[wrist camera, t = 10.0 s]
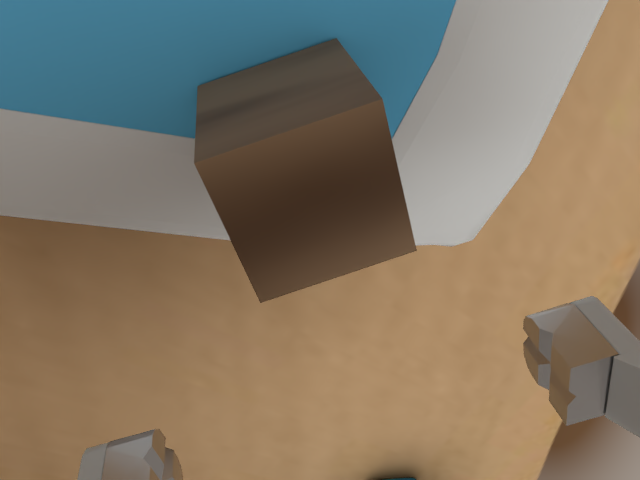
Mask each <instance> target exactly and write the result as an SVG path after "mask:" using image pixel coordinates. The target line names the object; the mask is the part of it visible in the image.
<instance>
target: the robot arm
mask: <svg viewBox="0 0 640 480" xmlns="http://www.w3.org/2000/svg"><path fill="white" fill-rule="evenodd" d="M523 329H524V331H525V332H526V334H527V335H528V338H527V339H526V341H525V342H524V343H523V347H524V357H525V360H526V363H527V367H528V369H529V371H530V373H531V375H532V376H533V378H534V379H535V381H536V382H537V384H538V385H540V386H542V387H544V388H546V389H548V390H549V401H550V403H551V404H552V406H553V407H554V409H555V410H556V412H557V413H558V414H559V416H560V417H561V419H562V420H563V422H564V423H565V425H566V426H567V425H571V424H574V423H577V422H581V421H585V420H588V419H591V418H595V417H599V416H602V415H605V417H606V418H608V419H609V420H611V421H613V422H615V423H616V424H618V425H620V426H621V427H623V428H625V429H626V430H628V431H630V432H632V433H633V434H635V435H636V436H638V437H640V341H639V340H638V339H637V338H636V337H635V336H634V335H633V334H632V333H631V332H630V331H629V330H628V329H627V328H626V327H625V326H624V325H623V324H622V323H621V322H620V321H619V320H618V319H617V318H616V317H615V316H614V315H613V314H612V313H611V312H610V311H609V310H608V309H607V308H606V307H605V306H604V305H603V304H602V303H601V302H600V300H599V299H598V298H596V297H593V296H590V297H587V298H584V299H580V300H577V301H574V302H571V303H569V304H568V303H566V304H563V305H560V306H557V307H554V308H550V309H547V310H544V311H541V312H538V313H535V314H531V315H528V316H526V317H525V319H524V323H523ZM165 439H166V438H165V436H164V435H163V433H162V432H161V431H160V429H154V430H150V431H147V432H143V433H140V434H136V435H132V436H129V437H125V438H121V439H118V440H114V441H111V442H108V443H104V444H101V445H97V446H94V447H90V448H87V449H86V450H85V452H84V454H83V456H82V459H81V464H80V469H79V474H78V479H77V480H183V475H182V469H181V465H180V462H179V460H178V457H177V455H176V454H175V452H174V450H172V449H169V448H166V447H165Z"/></svg>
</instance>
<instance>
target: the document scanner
mask: <svg viewBox="0 0 640 480" xmlns="http://www.w3.org/2000/svg"><path fill="white" fill-rule="evenodd" d="M607 2H608V0H0V215H2V216H11V217H20V218H29V219H38V220H47V221H57V222H66V223H75V224H84V225H93V226H102V227H112V228H121V229H130V230H139V231H149V232H158V233H167V234H176V235H186V236H195V237H204V238H214V239H223V240H230V238H229V236H228V234H227V231H226V229H225V227H224V225H223V223H222V221H221V219H220V217H219V215H218V213H217V210H216V208H215V206H214V204H213V202H212V200H211V198H210V196H209V194H208V192H207V190H206V187H205V185H204V183H203V181H202V179H201V177H200V175H199V173H198V171H197V169H196V166H195V164H194V152H195V131H196V109H197V88H198V86H199V85H202V84H205V83H208V82H211V81H213V80H216V79H219V78H222V77H225V76H228V75H231V74H234V73H237V72H240V71H242V70H245V69H248V68H251V67H254V66H257V65H260V64H263V63H266V62H269V61H271V60H274V59H277V58H280V57H283V56H286V55H289V54H292V53H295V52H298V51H300V50H303V49H306V48H309V47H312V46H315V45H318V44H321V43H324V42H327V41H329V40H332V39H335V38H337V39H338V41H339V42H340V43H341V45H342V46H343V47H344V49H345V50H346V51H347V53H348V54H349V55H350V56H351V58H352V59H353V60H354V62H355V63H356V64H357V66H358V67H359V68H360V70H361V71H362V72H363V74H364V75H365V76H366V78H367V79H368V80H369V82H370V83H371V84H372V86H373V87H374V88H375V90H376V91H377V92H378V93H379V95H380V96H381V97H382V99H383V103H384V107H385V112H386V116H387V121H388V125H389V130H390V134H391V139H392V143H393V147H394V152H395V156H396V161H397V165H398V170H399V174H400V179H401V183H402V187H403V192H404V196H405V201H406V205H407V210H408V214H409V219H410V223H411V227H412V232H413V236H414V241H415V245H441V246H451V247H452V246H455V245H458V244H462V243H465V242H468V241H471V240H473V239H474V238H475V236H476V235H477V234H478V232H479V231H480V230H481V228H482V227H483V226H484V224H485V223H486V222H487V220H488V219H489V218H490V216H491V215H492V213H493V212H494V211H495V209H496V208H497V207H498V205H499V204H500V203H501V201H502V200H503V199H504V197H505V196H506V195H507V193H508V192H509V191H510V189H511V188H512V187H513V185H514V184H515V182H516V181H517V180H518V178H519V177H520V176H521V174H522V173H523V172H524V170H525V169H526V168H527V166H528V165H529V163H530V161H531V159H532V157H533V155H534V153H535V151H536V149H537V147H538V145H539V143H540V141H541V139H542V137H543V135H544V133H545V130H546V128H547V126H548V124H549V122H550V120H551V118H552V116H553V114H554V112H555V110H556V108H557V106H558V104H559V102H560V100H561V98H562V96H563V93H564V91H565V89H566V87H567V85H568V83H569V81H570V79H571V77H572V75H573V73H574V71H575V69H576V67H577V65H578V62H579V60H580V58H581V56H582V54H583V52H584V50H585V48H586V46H587V44H588V42H589V40H590V38H591V36H592V33H593V31H594V29H595V27H596V25H597V23H598V21H599V19H600V17H601V15H602V13H603V11H604V9H605V6H606V4H607Z"/></svg>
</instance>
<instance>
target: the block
mask: <svg viewBox="0 0 640 480" xmlns="http://www.w3.org/2000/svg"><path fill="white" fill-rule="evenodd" d="M384 480H416V479H415V478H398V479H384Z"/></svg>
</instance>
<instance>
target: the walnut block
mask: <svg viewBox="0 0 640 480" xmlns="http://www.w3.org/2000/svg"><path fill="white" fill-rule="evenodd" d="M194 164H195V166H196V169H197V171H198V173H199V175H200V177H201V179H202V181H203V183H204V185H205V187H206V190H207V192H208V194H209V196H210V198H211V200H212V202H213V204H214V206H215V208H216V210H217V213H218V215H219V217H220V219H221V221H222V223H223V225H224V227H225V229H226V231H227V234H228V236H229V238H230V240H231V242H232V244H233V246H234V248H235V250H236V252H237V255H238V257H239V259H240V261H241V263H242V265H243V267H244V269H245V271H246V273H247V276H248V278H249V280H250V282H251V284H252V286H253V288H254V290H255V292H256V294H257V297H258V299H259V301H260V303H261V302H264V301H267V300H270V299H273V298H276V297H279V296H282V295H285V294H288V293H291V292H294V291H297V290H300V289H303V288H306V287H309V286H312V285H315V284H318V283H321V282H324V281H327V280H330V279H333V278H336V277H339V276H342V275H345V274H348V273H351V272H354V271H357V270H360V269H363V268H366V267H369V266H372V265H375V264H378V263H381V262H384V261H387V260H390V259H393V258H396V257H399V256H402V255H405V254H408V253H411V252H414V251H417V250H416V245H415V241H414V236H413V232H412V227H411V223H410V219H409V214H408V210H407V205H406V201H405V196H404V192H403V187H402V183H401V179H400V174H399V170H398V165H397V161H396V156H395V152H394V147H393V143H392V139H391V134H390V130H389V125H388V121H387V116H386V112H385V107H384V103H383V99H382V97H381V96H380V95H379V93H378V92H377V91H376V90H375V88H374V87H373V86H372V84H371V83H370V82H369V80H368V79H367V78H366V76H365V75H364V74H363V72H362V71H361V70H360V68H359V67H358V66H357V64H356V63H355V62H354V60H353V59H352V58H351V56H350V55H349V54H348V53H347V51H346V50H345V49H344V47H343V46H342V45H341V43H340V42H339V41H338V39H337V38H335V39H332V40H329V41H327V42H324V43H321V44H318V45H315V46H312V47H309V48H306V49H303V50H300V51H298V52H295V53H292V54H289V55H286V56H283V57H280V58H277V59H274V60H271V61H269V62H266V63H263V64H260V65H257V66H254V67H251V68H248V69H245V70H242V71H240V72H237V73H234V74H231V75H228V76H225V77H222V78H219V79H216V80H213V81H211V82H208V83H205V84H202V85H199V86H198V88H197V109H196V131H195V152H194Z"/></svg>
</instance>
